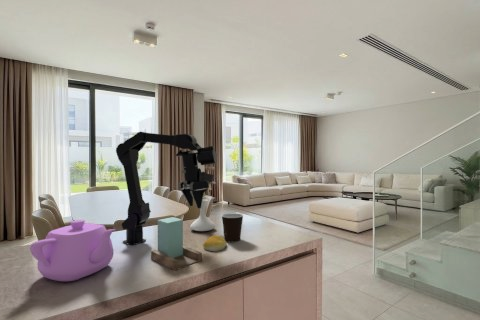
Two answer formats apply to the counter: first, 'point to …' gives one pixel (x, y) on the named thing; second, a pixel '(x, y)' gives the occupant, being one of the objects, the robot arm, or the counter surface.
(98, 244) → the teapot
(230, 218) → the coffee mug
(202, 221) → the flower in vase
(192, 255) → the walnut chute
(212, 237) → the bread roll
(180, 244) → the teal block
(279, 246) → the counter surface
